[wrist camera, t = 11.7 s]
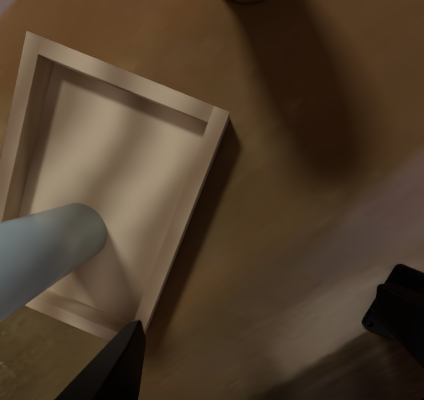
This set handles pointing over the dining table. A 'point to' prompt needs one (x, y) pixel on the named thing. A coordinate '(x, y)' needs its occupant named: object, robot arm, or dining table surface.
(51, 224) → the dome-topped blue cylinder
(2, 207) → the tray
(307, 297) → the dining table surface
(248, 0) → the beer glass
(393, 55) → the dining table surface
